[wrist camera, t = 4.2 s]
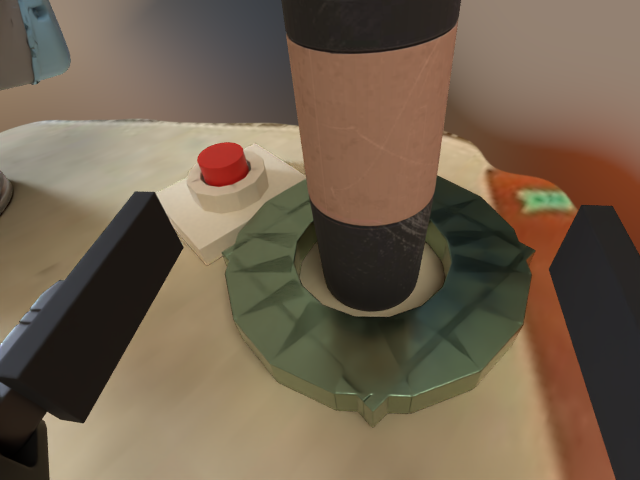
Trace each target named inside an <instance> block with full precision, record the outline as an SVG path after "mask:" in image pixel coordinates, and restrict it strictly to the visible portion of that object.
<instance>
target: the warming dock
mask: <svg viewBox="0 0 640 480" xmlns="http://www.w3.org/2000/svg"><path fill="white" fill-rule="evenodd" d="M425 241H426V242H427V243H428V244H429V245H430V246H431V248H432V249H433V250H434V252H435V253H436V254H437V256H438V257H439V258H440V260H441V261H442V264H443V269H444V274H445V282H444V285H443V287H442V288H441V289H440V290H439V291H438V292H437V293H435V294H434V295H433V296H432V297H431V298H430V299H429V300H428V301H427V302H425V303H424V304H423V305H422V306H420V307H417V308H414V309H412V310H409V311H406V312H403V313H400V314H397V315H394V316H391V317H354V316H352V315H349V314H346V313H344V312H341V311H338V310H336V309H333V308H330V307H327V306H325V305H323V304H321V303H320V302H319V301H318V300H317V299H316V298H315V297H314V296H313V295H312V294H311V293H310V292H308V291H307V290H306V289H305V288H304V287H303V286H302V284H301V281H300V278H299V276H300V270H301V263H302V261H303V259H304V258H305V256H306V255H307V254H308V252H309V251H310V249H311V248H312V246H313V245H314V244H315V243H316V242H318V241H317V236H316V231H315V226H314V221H313V215H312V210H311V205H310V200H309V193H308V188H307V180H306V179H304V180H302V181H300V182H299V183H297V184H295V185H294V186H292V187H290V188H288V189H287V190H285V191H283V192H282V193H280V194H278V195H276V196H275V197H273V198H271V199H269V200H268V201H267V202H265V203H264V204H263V205H262V207H261V208H260V209H259V210H258V211H257V212H256V213H255V215H254V216H253V217H252V218H251V219H250V220H249V221H248V222H247V224H246V225H245V226H244V227H243V228H242V229H241V230H240V231H239V233H238V235H237V238H236V241H235V244H234V245H232V246H231V247H229V248H227V249H226V250H224V251H223V252H222V256H223V258H224V260H225V263H226V265H227V269H226V272H225V277H226V282H227V287H228V293H229V298H230V304H231V309H232V314H233V319H234V322H235V324H236V326H237V328H238V330H239V332H240V334H241V337H242V339H243V340H244V341H245V343H246V344H247V345H248V346H249V348H250V349H251V350H252V351H253V353H254V354H255V355H256V356H257V358H258V359H259V360H260V361H261V362H262V364H263V365H264V366H265V367H266V369H267V370H268V371H269V372H270V374H271V375H272V376H273V377H274V379H275V380H276V381H277V382H278V383H280V384H283V385H285V386H287V387H289V388H291V389H293V390H295V391H297V392H299V393H301V394H303V395H305V396H307V397H309V398H311V399H313V400H316V401H318V402H320V403H322V404H324V405H326V406H328V407H330V408H332V409H334V410H338V411H357V412H358V413H359V414H360V415H361V416H362V417H363V418H364V419H365V420H366V421H367V422H368V423H369V425H370V426H371V427H375V425H376V424H377V423H378V422H379V421H380V420H381V419H382V418H383V417H384V416H385V415H386V414H387V413H400V414H408V413H413V412H416V411H418V410H421V409H423V408H426V407H429V406H431V405H434V404H436V403H439V402H442V401H444V400H447V399H449V398H452V397H455V396H457V395H460V394H462V393H465V392H468V391H470V390H472V389H473V388H475V387H476V386H477V385H478V383H479V382H480V381H481V380H482V379H483V378H484V377H485V376H486V374H487V373H488V372H489V371H490V370H491V369H492V368H493V367H494V365H495V364H496V363H497V362H498V361H499V360H500V359H501V358H502V356H503V355H504V354H505V353H506V352H507V351H508V350H509V349H510V347H511V346H512V345H513V343H514V341H515V339H516V337H517V335H518V334H519V332H520V330H521V328H522V326H523V323H524V318H525V312H526V306H527V300H528V294H529V288H530V283H531V277H532V274H531V271H530V269H529V264H530V262H531V260H532V258H533V256H534V253H535V250H534V249H532V248H530V247H528V246H526V245H524V244H523V243H521V242H519V241H518V238H517V236H516V233H515V230H514V229H513V228H512V227H511V226H510V225H509V224H508V223H507V222H506V221H505V220H504V219H503V218H502V217H501V216H500V215H499V214H498V213H497V212H496V211H495V210H494V209H493V208H492V207H491V206H490V205H489V204H488V203H487V202H486V201H485V200H484V199H483V198H482V197H480V196H478V195H476V194H474V193H472V192H470V191H468V190H466V189H464V188H462V187H460V186H458V185H456V184H454V183H452V182H450V181H448V180H446V179H444V178H442V177H440V176H437V178H436V185H435V191H434V197H433V202H432V208H431V213H430V218H429V223H428V229H427V234H426V239H425Z"/></svg>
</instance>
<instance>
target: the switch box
mask: <svg viewBox="0 0 640 480" xmlns="http://www.w3.org/2000/svg"><path fill="white" fill-rule="evenodd" d="M243 151H244V154H245V158H246V162H247V165H248V169H249V172H248V174H247V176H246V177H245V178H244V179H242V180H240V181H238V182H237V183H235V184H233V185H227V186H222V187H215V186H209V185H208V184H207V183H206V182H205V180H204V177H203V174H202V172H201V169H200V167H199V164H198V162H197V163H196V164H195V165H194V166H193V167H192V168H191V169H190V170H189V171H188V175H187V177H186V178H184V179H182V180H180V181H178V182H176V183H174V184H172V185H170V186H168V187H166V188H164V189H162V190H160V191H158V192H156V195H157V197H158V199H159V201H160V202H161V204H162V206H163V208H164V210H165V212H166V214H167V216H168V218H169V220H170V222H171V224H172V226H173V228H174V229H175V230H176V231H177V232H178V233H179V235H180V236H181V237H182V238H183V239H184V240H185V241H186V243H187V244H188V245H189V246H190V247H191V248H192V249H193V251H194V252H195V253H196V254H197V255H198V256H199V257H200V259H201V260H202V261H203V262H204V263H205V264H206V265H209V264H211V263H212V262H214V261H215V260H217V259H219V258H220V257H222V252H223V251H224V250H226V249H227V248H229V247H231V246H232V245H234V244H235V241H236V238H237V235H238V233H239V231H240V230H241V229H242V228H243V227H244V226H245V225H246V224H247V222H248V221H249V220H250V219H251V218H252V217H253V216H254V215H255V213H256V212H257V211H258V210H259V209H260V208H261V207H262V205H263V204H264V203H265V202H267V201H268V200H269V199H271V198H273V197H275V196H276V195H278V194H280V193H282V192H283V191H285V190H287V189H288V188H290V187H292V186H294V185H295V184H297V183H299V182H300V181H302V180H304V179H306V176H305V175H304V174H302V173H301V172H299V171H298V170H296V169H295V168H293V167H292V166H290V165H289V164H287V163H285V162H284V161H282V160H281V159H279V158H278V157H276V156H275V155H273V154H272V153H270V152H268V151H267V150H265V149H264V148H262V147H261V146H259V145H258V144H256V143H254V144H252V145H250V146H248V147H246V148H244V149H243Z"/></svg>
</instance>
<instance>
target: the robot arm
mask: <svg viewBox="0 0 640 480" xmlns="http://www.w3.org/2000/svg"><path fill="white" fill-rule="evenodd" d="M70 62H71V59H70V54H69V50H68V47H67V45H66V42H65V39H64V37H63V34H62V31H61V29H60V26H59V24H58V21H57V19H56V17H55V14H54V12H53V10H52V7H51V5H50V2H49V0H0V90H4V89H9V88H13V87H17V86H22V85H26V84H32V85H34V84H38V83H39V82H40V80H44V79H47V78H50V77H54V76H57V75H60V74H63V73H64V72H65V71H67V70H68V68H69V66H70ZM12 192H13V188H12V184H11V183H10V181H9V180H8V179H7V178H6V177H5V175H4V174H3V173H2V172H1V171H0V214H1V213H2V211H3V210H4V209H5V207H6V206H7V204H8V203H9V201H10V199H11V196H12ZM183 248H184V247H183V245H182V243H181V241H180V239H179V237H178V235H177V234H176V232H175V230H174V228H173V226H172V224H171V222H170V220H169V218H168V216H167V214H166V212H165V210H164V208H163V206H162V204H161V202H160V201H159V199H158V197H157V195H156V193H155V192H134V194H133V195H132V196H131V197H130V199H129V200H128V201H127V202H126V204H125V205H124V206H123V207H122V209H121V210H120V211H119V213H118V214H117V215H116V216H115V218H114V219H113V220H112V221H111V223H110V224H109V225H108V226H107V228H106V229H105V230H104V231H103V233H102V234H101V235H100V236H99V238H98V239H97V240H96V241H95V243H94V244H93V245H92V246H91V248H90V249H89V250H88V251H87V253H86V254H85V255H84V256H83V258H82V259H81V260H80V261H79V263H78V264H77V265H76V266H75V268H74V269H73V270H72V271H71V273H70V274H69V275H68V276H67V278H66V279H65V280H59V281H58V282H56V283H55V284H54V285H52V286H51V287H50V288H49V289H47V290H46V291H45V292H43V293H42V294H41V296H40V297H39V298H38V299H37V300H36V302H35V303H34V304H33V305H32V307H31V308H30V311H29V312H27V313H26V314H25V315H24V316H23V317H22V319H21V320H20V321H19V322H20V323H19V325H16V326H15V327H14V328H13V330H12V331H11V332H10V333H9V335H8V336H7V337H6V338H5V339H4V341H3V342H2V343H1V344H0V480H49V461H48V441H47V427H46V424H45V421H43V420H42V418H43V417H44V415H45V414H46V412H49V413H51V414H52V415H54V416H55V417H57V418H59V419H61V420H67V421H73V422H79V423H84V422H85V421H86V419H87V417H88V415H89V413H90V412H91V410H92V408H93V406H94V405H95V403H96V401H97V399H98V398H99V396H100V394H101V392H102V391H103V389H104V387H105V385H106V384H107V382H108V380H109V378H110V376H111V375H112V373H113V371H114V369H115V368H116V366H117V364H118V362H119V361H120V359H121V357H122V355H123V354H124V352H125V350H126V348H127V346H128V345H129V343H130V341H131V339H132V338H133V336H134V334H135V332H136V331H137V329H138V327H139V325H140V324H141V322H142V320H143V318H144V316H145V315H146V313H147V311H148V309H149V308H150V306H151V304H152V302H153V301H154V299H155V297H156V295H157V294H158V292H159V290H160V288H161V287H162V285H163V283H164V281H165V279H166V278H167V276H168V274H169V272H170V271H171V269H172V267H173V265H174V264H175V262H176V260H177V258H178V257H179V255H180V253H181V251H182V249H183ZM549 272H550V275H551V278H552V281H553V284H554V287H555V290H556V293H557V297H558V300H559V303H560V306H561V309H562V312H563V315H564V319H565V322H566V325H567V328H568V331H569V334H570V337H571V340H572V344H573V347H574V350H575V353H576V356H577V359H578V362H579V366H580V369H581V372H582V375H583V378H584V381H585V384H586V387H587V391H588V394H589V397H590V400H591V403H592V406H593V409H594V413H595V416H596V419H597V422H598V425H599V428H600V431H601V434H602V438H603V441H604V444H605V447H606V450H607V453H608V456H609V460H610V463H611V466H612V469H613V472H614V475H615V478H616V480H640V255H639V253H638V251H637V250H636V248H635V246H634V244H633V242H632V240H631V239H630V237H629V235H628V234H627V231H626V230H625V228H624V226H623V224H622V222H621V220H620V219H619V217H618V215H617V213H616V211H615V210H614V208H613V206H598V205H596V206H595V205H581V207H580V209H579V211H578V213H577V215H576V217H575V219H574V221H573V222H572V224H571V226H570V228H569V230H568V232H567V234H566V236H565V238H564V240H563V242H562V244H561V246H560V248H559V250H558V252H557V254H556V256H555V258H554V260H553V262H552V264H551V266H550V268H549Z"/></svg>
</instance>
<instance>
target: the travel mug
mask: <svg viewBox="0 0 640 480" xmlns="http://www.w3.org/2000/svg"><path fill="white" fill-rule="evenodd" d="M460 3H461V0H282V8H283V15H284V22H285V29H286V36H287V43H288V51H289V58H290V65H291V72H292V80H293V87H294V94H295V101H296V108H297V116H298V123H299V130H300V137H301V144H302V152H303V159H304V166H305V173H306V180H307V188H308V193H309V200H310V205H311V210H312V215H313V221H314V226H315V231H316V236H317V241H318V247H319V252H320V257H321V262H322V267H323V272H324V277H325V280H326V284H327V286H328V288H329V290H330V291H331V293H332V294H333V295H334V296H335V297H336V298H337V299H338V300H339V301H340V302H342V303H344V304H345V305H347V306H349V307H352V308H355V309H359V310H364V311H379V310H385V309H389V308H391V307H394V306H396V305H398V304H400V303H401V302H403V301H404V300H405V299H406V298H407V297H409V295H410V294H411V293H412V291H413V290H414V288H415V286H416V283H417V279H418V275H419V270H420V265H421V260H422V255H423V249H424V244H425V239H426V234H427V229H428V223H429V218H430V213H431V208H432V202H433V197H434V191H435V185H436V178H437V171H438V164H439V156H440V149H441V142H442V134H443V127H444V119H445V112H446V105H447V98H448V91H449V83H450V76H451V69H452V62H453V54H454V47H455V40H456V32H457V25H458V17H459V11H460Z"/></svg>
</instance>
